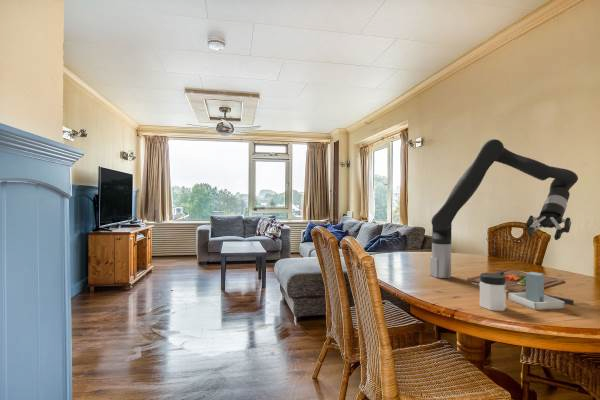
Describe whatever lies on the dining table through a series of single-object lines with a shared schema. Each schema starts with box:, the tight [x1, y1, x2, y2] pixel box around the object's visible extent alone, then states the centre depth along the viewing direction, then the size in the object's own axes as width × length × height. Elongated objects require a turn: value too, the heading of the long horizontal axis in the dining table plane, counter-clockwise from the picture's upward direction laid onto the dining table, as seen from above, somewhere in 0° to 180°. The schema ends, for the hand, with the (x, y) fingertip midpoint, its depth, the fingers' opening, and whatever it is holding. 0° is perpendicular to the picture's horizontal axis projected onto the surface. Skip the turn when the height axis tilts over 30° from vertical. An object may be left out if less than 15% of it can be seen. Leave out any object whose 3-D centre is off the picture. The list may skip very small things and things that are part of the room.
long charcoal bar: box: [544, 293, 575, 305], centre depth 127 cm, size 11×2×2 cm, turn 35°
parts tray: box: [507, 292, 566, 311], centre depth 124 cm, size 12×12×2 cm
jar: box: [479, 272, 507, 312], centre depth 120 cm, size 9×8×12 cm
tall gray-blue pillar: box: [526, 271, 545, 303], centre depth 124 cm, size 4×5×11 cm
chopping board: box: [466, 269, 565, 293], centre depth 157 cm, size 45×27×3 cm, turn 120°
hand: (542, 237), depth 128 cm, fingers open, 8 cm apart
